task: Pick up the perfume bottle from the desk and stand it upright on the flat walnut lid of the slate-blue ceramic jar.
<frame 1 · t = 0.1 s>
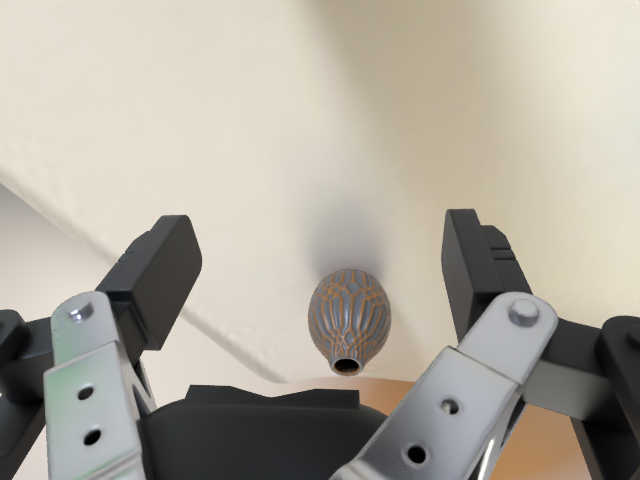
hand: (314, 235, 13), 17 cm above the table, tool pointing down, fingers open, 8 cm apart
vase: (350, 285, 37), on the table
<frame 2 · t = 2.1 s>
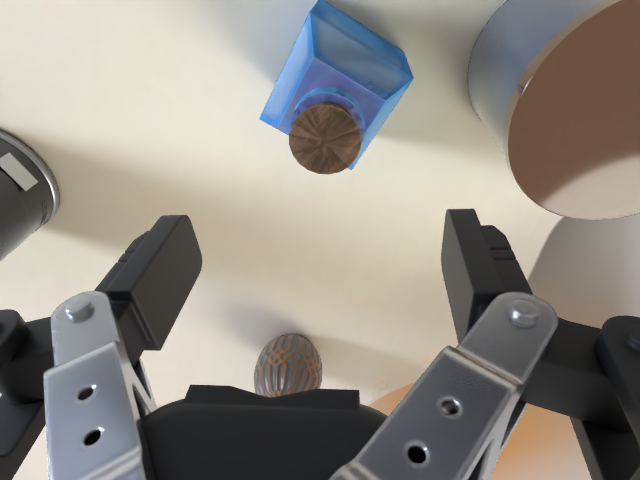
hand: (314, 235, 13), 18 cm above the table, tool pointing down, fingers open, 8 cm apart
jar: (548, 64, 26), on the table
perfume bottle: (338, 69, 27), on the table
vase: (293, 344, 45), on the table
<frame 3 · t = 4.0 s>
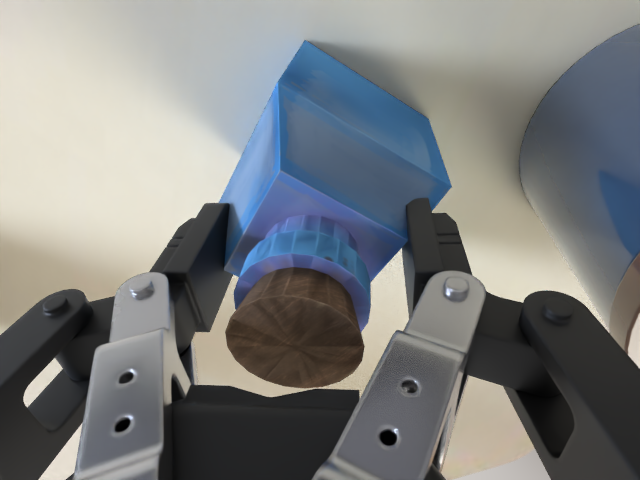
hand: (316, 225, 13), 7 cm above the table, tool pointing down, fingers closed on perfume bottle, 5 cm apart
perfume bottle: (332, 138, 19), on the table, touching gripper
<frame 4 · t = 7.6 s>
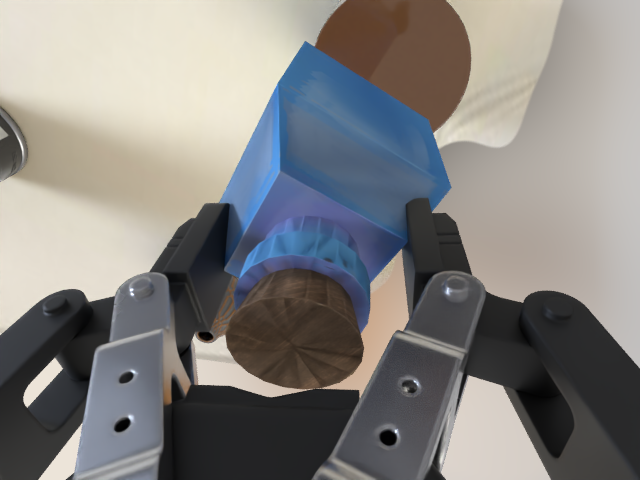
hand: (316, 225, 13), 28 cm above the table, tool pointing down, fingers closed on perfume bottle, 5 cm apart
jar: (383, 44, 35), on the table
perfume bottle: (332, 139, 19), point 20 cm above the table, touching gripper
vase: (226, 283, 54), on the table
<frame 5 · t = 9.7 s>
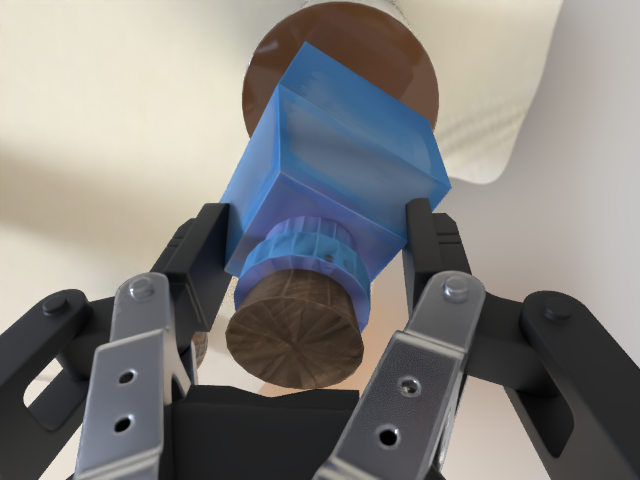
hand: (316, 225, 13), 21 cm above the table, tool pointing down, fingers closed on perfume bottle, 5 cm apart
jar: (346, 67, 30), on the table
perfume bottle: (332, 139, 19), point 13 cm above the table, touching gripper
vase: (186, 322, 49), on the table
when the fingers open (17 cm above the table, at t = 11.2 s): perfume bottle stays where it is, resting on jar.
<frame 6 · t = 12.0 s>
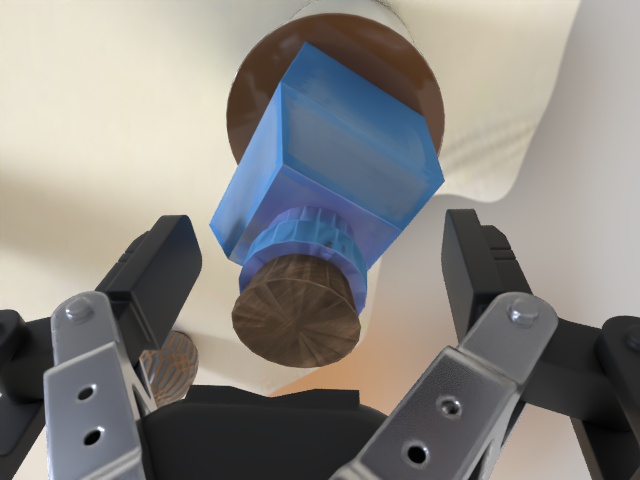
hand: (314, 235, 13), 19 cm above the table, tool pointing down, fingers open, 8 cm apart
jar: (343, 79, 28), on the table
perfume bottle: (331, 136, 20), point 10 cm above the table, touching jar
vase: (176, 341, 46), on the table
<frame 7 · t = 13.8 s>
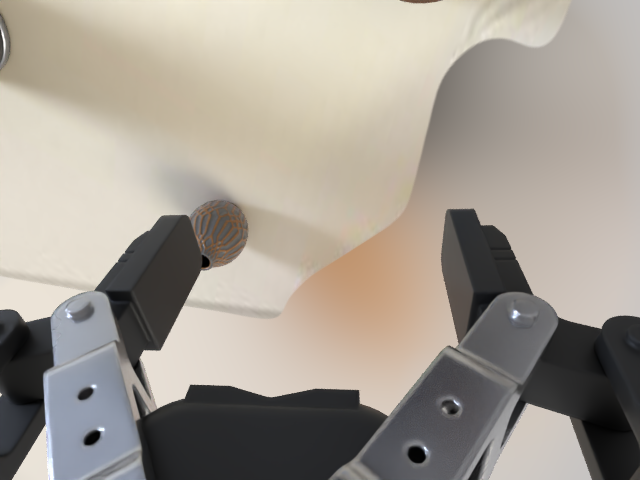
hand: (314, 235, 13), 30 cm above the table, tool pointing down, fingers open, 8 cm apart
vase: (226, 215, 49), on the table
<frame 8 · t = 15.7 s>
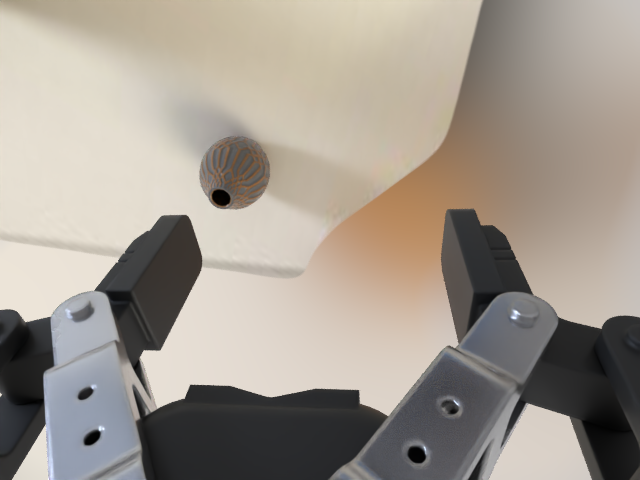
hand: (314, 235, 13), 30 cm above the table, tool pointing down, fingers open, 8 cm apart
vase: (244, 157, 45), on the table
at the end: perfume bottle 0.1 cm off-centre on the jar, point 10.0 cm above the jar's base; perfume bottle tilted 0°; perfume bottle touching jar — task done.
